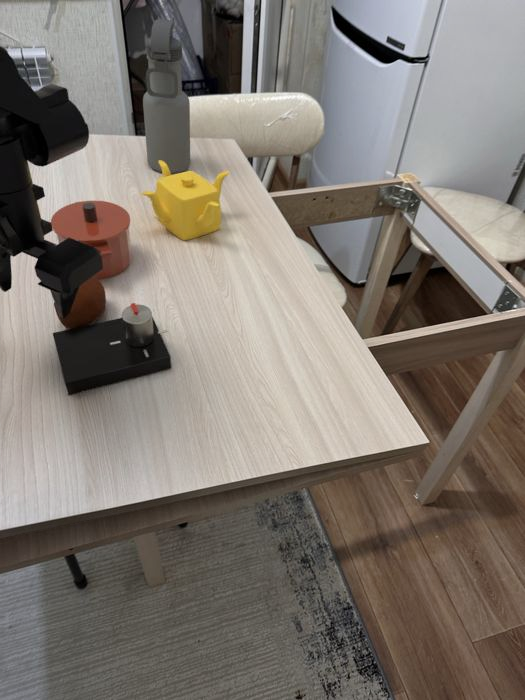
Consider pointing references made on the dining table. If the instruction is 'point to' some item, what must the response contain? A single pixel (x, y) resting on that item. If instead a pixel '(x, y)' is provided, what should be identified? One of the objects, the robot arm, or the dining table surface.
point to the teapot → (187, 203)
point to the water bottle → (166, 101)
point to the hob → (106, 356)
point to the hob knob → (137, 325)
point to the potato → (86, 305)
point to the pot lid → (90, 221)
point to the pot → (112, 254)
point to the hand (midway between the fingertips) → (35, 302)
